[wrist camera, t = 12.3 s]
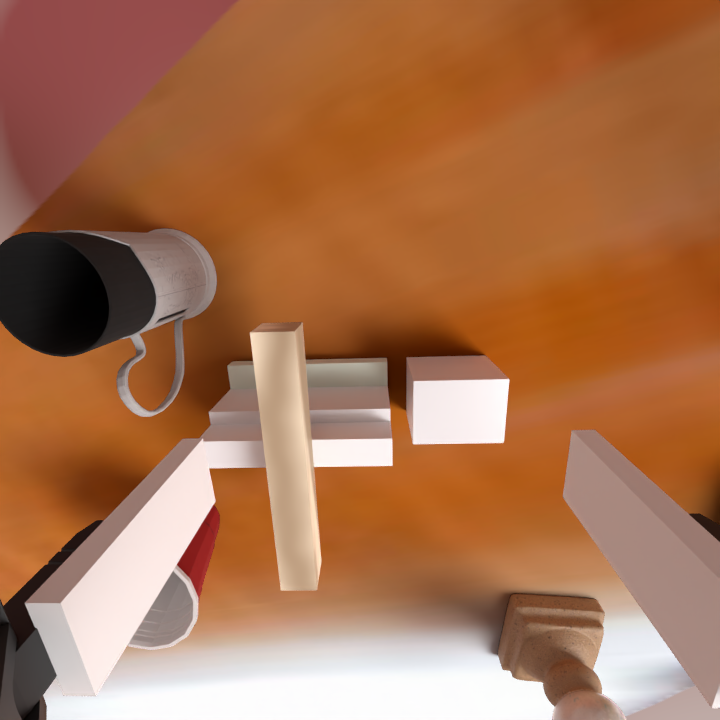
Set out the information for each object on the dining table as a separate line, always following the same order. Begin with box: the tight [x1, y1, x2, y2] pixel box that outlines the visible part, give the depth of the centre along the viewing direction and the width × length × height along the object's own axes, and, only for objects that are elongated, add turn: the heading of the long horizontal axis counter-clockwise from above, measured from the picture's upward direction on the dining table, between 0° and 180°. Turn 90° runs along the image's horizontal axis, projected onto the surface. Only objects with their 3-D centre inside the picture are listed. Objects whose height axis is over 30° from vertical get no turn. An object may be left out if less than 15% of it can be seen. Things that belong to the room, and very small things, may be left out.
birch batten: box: [250, 322, 321, 590], centre depth 30 cm, size 3×22×3 cm, turn 2°
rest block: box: [406, 355, 509, 444], centre depth 37 cm, size 8×6×7 cm
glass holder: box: [0, 228, 217, 417], centre depth 31 cm, size 9×14×15 cm, turn 20°
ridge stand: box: [200, 358, 392, 468], centre depth 36 cm, size 16×10×10 cm, turn 92°
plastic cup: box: [127, 505, 220, 650], centre depth 40 cm, size 11×11×12 cm
